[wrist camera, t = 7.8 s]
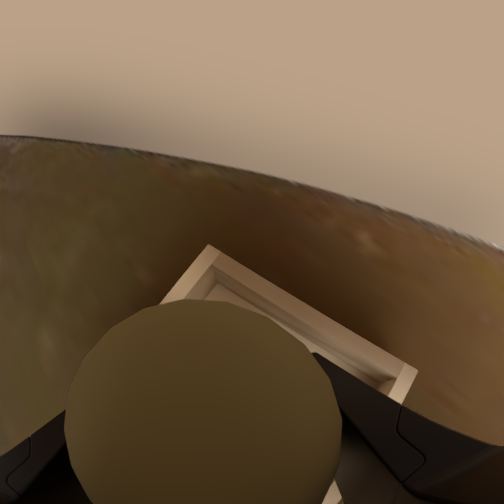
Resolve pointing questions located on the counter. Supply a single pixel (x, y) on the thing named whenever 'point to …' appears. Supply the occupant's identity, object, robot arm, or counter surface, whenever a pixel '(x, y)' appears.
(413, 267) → the counter surface
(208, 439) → the olive pepper mill
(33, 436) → the robot arm
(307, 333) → the birch tray
